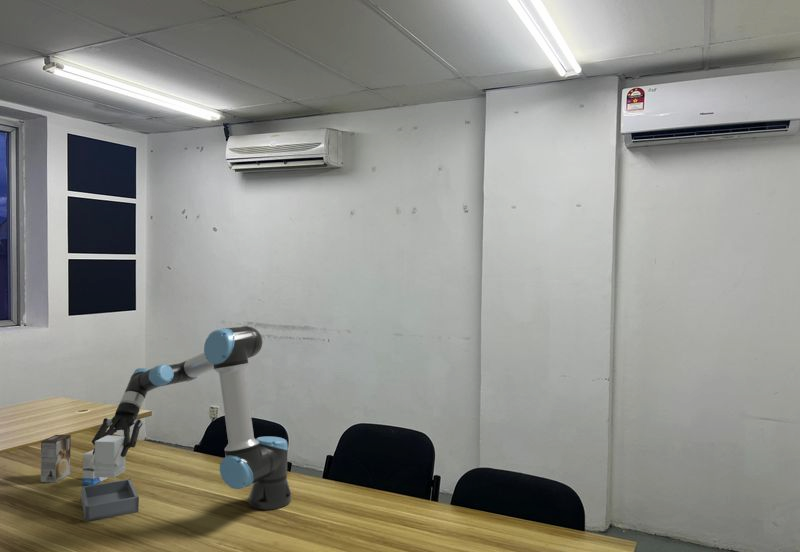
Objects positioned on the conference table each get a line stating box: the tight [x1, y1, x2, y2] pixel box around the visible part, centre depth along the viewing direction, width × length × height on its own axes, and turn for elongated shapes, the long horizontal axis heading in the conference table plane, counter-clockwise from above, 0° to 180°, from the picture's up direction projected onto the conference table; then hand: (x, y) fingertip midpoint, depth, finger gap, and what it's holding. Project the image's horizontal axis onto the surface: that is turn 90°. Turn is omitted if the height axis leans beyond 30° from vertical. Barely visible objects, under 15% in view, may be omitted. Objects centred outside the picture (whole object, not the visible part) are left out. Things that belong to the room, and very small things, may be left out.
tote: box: [80, 478, 140, 523], centre depth 195 cm, size 20×16×5 cm
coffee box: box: [40, 434, 72, 483], centre depth 219 cm, size 9×6×16 cm
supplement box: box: [94, 435, 126, 479], centre depth 195 cm, size 7×7×13 cm
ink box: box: [82, 449, 108, 486], centre depth 217 cm, size 9×5×12 cm, turn 168°
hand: (104, 464), depth 192 cm, fingers closed on supplement box, 7 cm apart
